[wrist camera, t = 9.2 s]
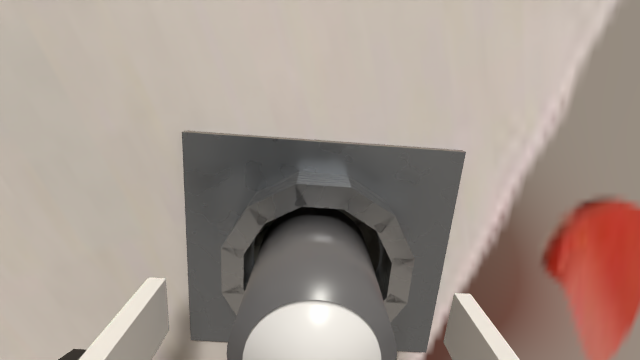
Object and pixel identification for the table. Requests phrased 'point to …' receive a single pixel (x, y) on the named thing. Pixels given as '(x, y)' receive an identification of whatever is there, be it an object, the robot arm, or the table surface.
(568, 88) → the table surface
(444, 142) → the table surface
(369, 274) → the lens barrel
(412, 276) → the barrel mount
